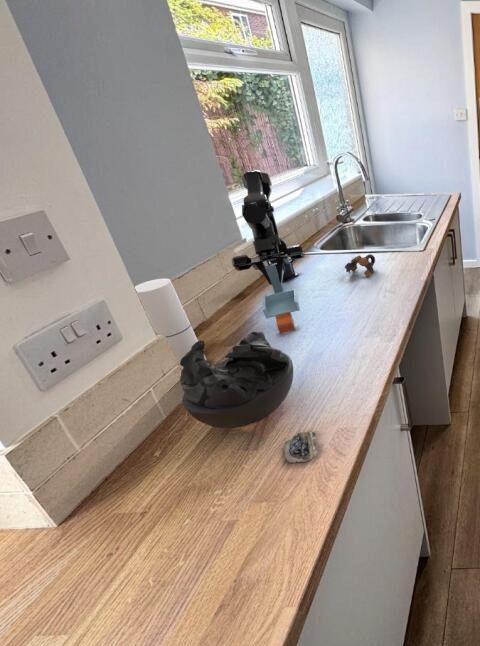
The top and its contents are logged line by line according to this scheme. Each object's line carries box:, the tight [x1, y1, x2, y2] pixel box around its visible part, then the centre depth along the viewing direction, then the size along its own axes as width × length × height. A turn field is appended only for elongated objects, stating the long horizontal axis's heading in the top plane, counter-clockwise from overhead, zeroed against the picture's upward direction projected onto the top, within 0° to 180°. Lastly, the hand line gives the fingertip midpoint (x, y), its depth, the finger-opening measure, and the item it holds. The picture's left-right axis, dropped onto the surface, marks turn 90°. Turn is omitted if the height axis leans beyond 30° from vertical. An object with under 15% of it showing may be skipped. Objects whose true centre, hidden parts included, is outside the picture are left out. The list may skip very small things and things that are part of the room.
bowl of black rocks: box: [179, 331, 294, 429], centre depth 86 cm, size 20×20×19 cm
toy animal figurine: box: [344, 253, 376, 278], centre depth 155 cm, size 12×10×8 cm
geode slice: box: [283, 430, 318, 464], centre depth 80 cm, size 7×8×2 cm
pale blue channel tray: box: [262, 264, 301, 319], centre depth 120 cm, size 10×9×12 cm
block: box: [275, 312, 296, 335], centre depth 120 cm, size 4×4×4 cm
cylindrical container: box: [134, 277, 210, 370], centre depth 100 cm, size 7×7×25 cm
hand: (275, 283), depth 122 cm, fingers closed on pale blue channel tray, 2 cm apart
